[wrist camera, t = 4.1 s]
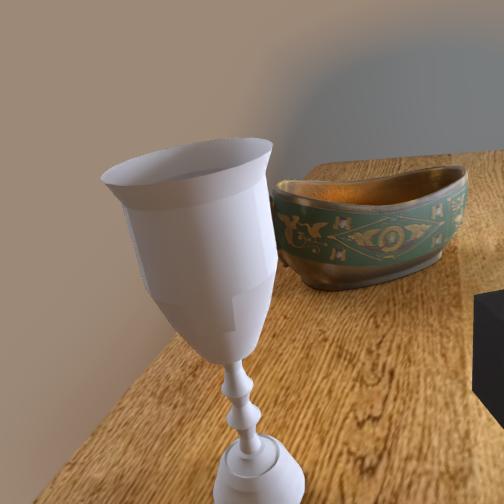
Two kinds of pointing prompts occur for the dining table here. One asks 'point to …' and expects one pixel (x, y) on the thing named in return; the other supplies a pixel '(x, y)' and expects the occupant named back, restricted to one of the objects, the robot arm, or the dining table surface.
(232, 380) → the chalice
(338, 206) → the cup
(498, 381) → the robot arm
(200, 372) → the dining table surface
